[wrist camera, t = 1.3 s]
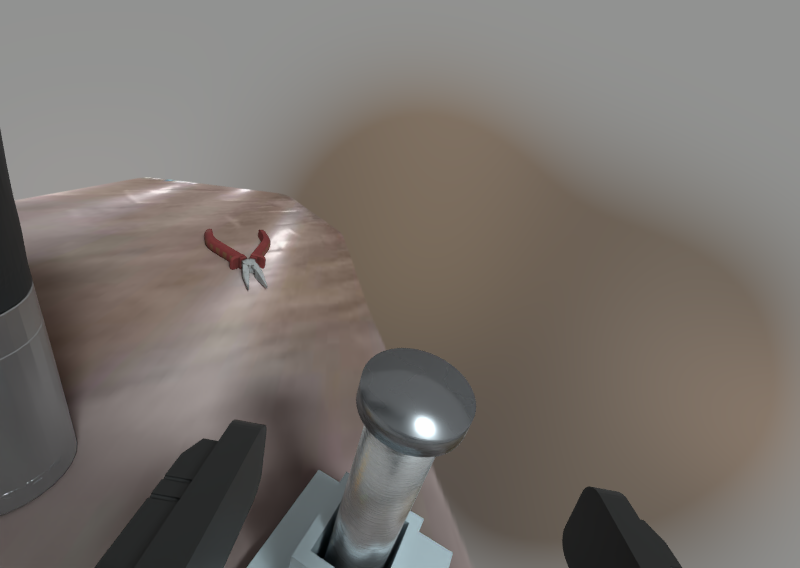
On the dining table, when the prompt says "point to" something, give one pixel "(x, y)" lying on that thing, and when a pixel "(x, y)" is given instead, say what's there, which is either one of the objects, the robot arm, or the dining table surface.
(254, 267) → the pliers
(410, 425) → the column
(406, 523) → the stand base
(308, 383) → the dining table surface
